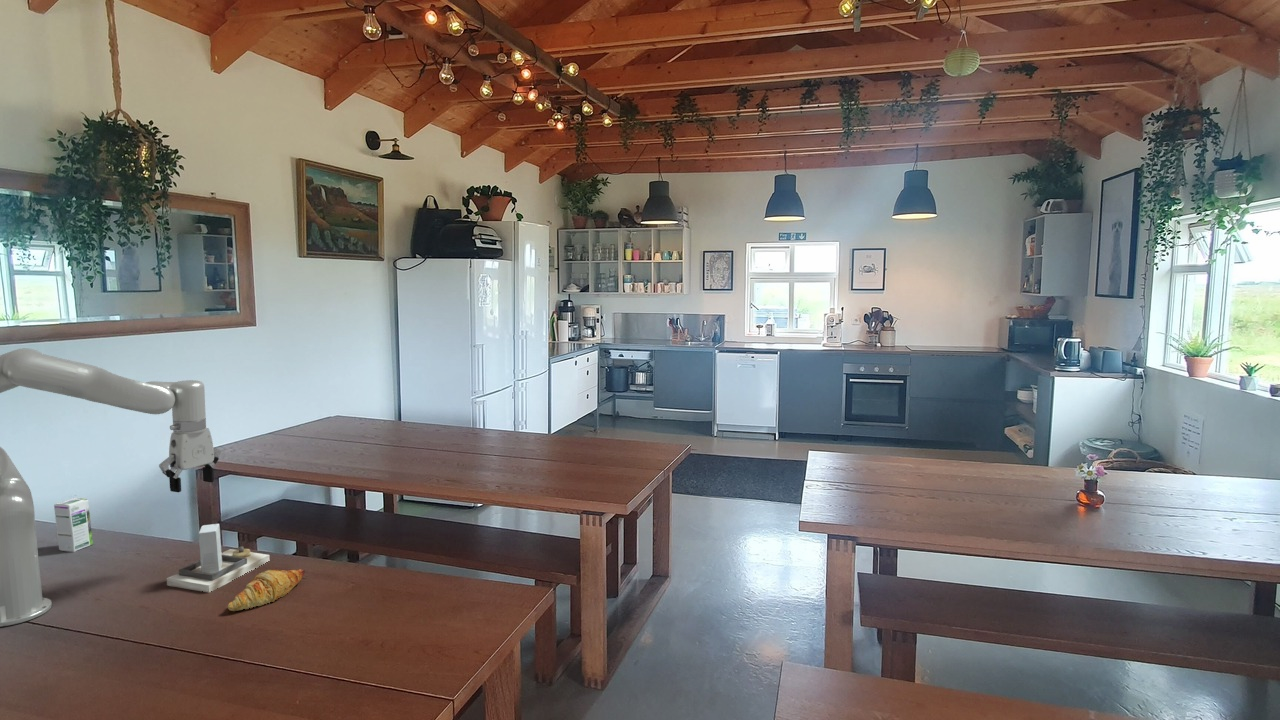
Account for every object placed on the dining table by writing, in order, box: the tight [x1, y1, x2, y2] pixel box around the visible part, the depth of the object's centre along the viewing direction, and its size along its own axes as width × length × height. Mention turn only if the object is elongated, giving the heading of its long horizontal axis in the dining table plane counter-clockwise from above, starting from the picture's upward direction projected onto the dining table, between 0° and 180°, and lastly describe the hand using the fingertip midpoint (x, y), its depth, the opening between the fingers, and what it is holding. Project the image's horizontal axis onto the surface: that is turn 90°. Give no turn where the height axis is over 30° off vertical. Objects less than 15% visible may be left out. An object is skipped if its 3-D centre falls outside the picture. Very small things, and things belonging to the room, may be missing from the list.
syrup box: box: [53, 497, 94, 553], centre depth 200 cm, size 6×6×14 cm
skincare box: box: [198, 523, 223, 574], centre depth 182 cm, size 6×4×12 cm
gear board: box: [166, 545, 271, 593], centre depth 185 cm, size 20×14×5 cm
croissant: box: [227, 568, 306, 612], centre depth 173 cm, size 21×10×8 cm, turn 157°
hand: (192, 486), depth 184 cm, fingers open, 9 cm apart
